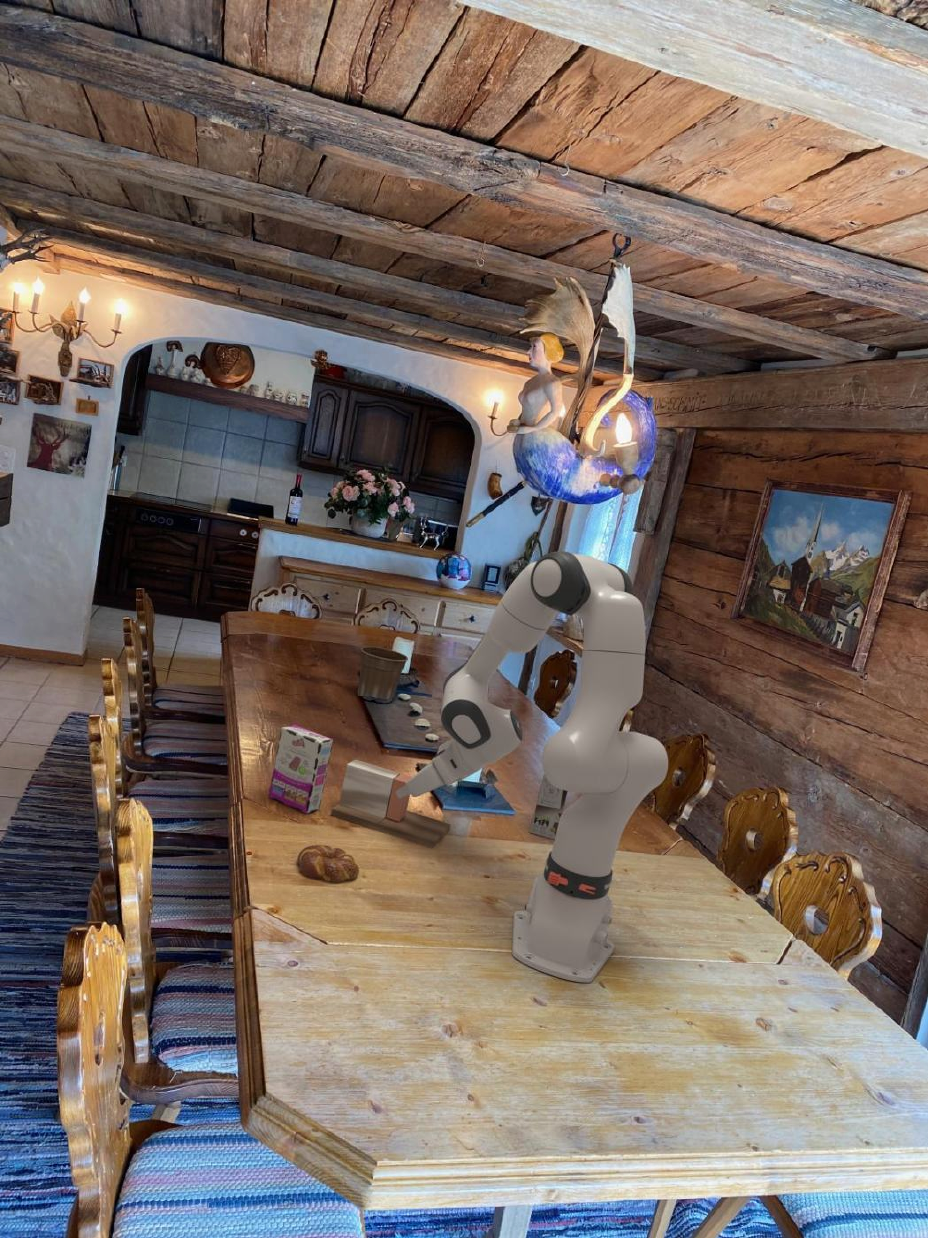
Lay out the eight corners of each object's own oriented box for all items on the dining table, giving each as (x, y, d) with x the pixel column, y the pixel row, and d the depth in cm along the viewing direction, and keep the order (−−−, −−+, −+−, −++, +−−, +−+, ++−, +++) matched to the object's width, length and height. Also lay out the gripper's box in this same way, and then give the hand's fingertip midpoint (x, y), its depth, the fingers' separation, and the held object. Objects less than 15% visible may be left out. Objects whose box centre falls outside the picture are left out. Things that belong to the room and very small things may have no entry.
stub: (398, 821, 187) (407, 783, 186) (386, 817, 188) (394, 779, 187) (405, 815, 192) (413, 777, 190) (393, 811, 192) (401, 773, 191)
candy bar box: (320, 809, 189) (335, 739, 187) (306, 815, 185) (321, 743, 182) (281, 792, 194) (294, 723, 192) (266, 797, 190) (280, 726, 187)
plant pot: (408, 703, 294) (417, 658, 292) (379, 708, 280) (389, 661, 278) (371, 689, 302) (380, 645, 300) (341, 693, 288) (351, 647, 286)
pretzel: (367, 870, 166) (370, 852, 166) (344, 892, 156) (348, 873, 155) (311, 851, 169) (315, 833, 168) (285, 871, 159) (289, 853, 158)
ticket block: (433, 848, 182) (444, 801, 180) (330, 815, 187) (340, 768, 186) (449, 830, 193) (459, 785, 192) (352, 799, 199) (361, 755, 197)
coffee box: (555, 840, 201) (571, 775, 199) (528, 833, 202) (544, 768, 200) (558, 827, 210) (574, 765, 208) (533, 820, 211) (548, 758, 209)
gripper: (462, 736, 195) (413, 763, 199) (435, 758, 176) (381, 788, 179) (476, 760, 195) (427, 787, 199) (451, 785, 175) (397, 815, 179)
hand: (405, 788), depth 189 cm, fingers open, 8 cm apart
